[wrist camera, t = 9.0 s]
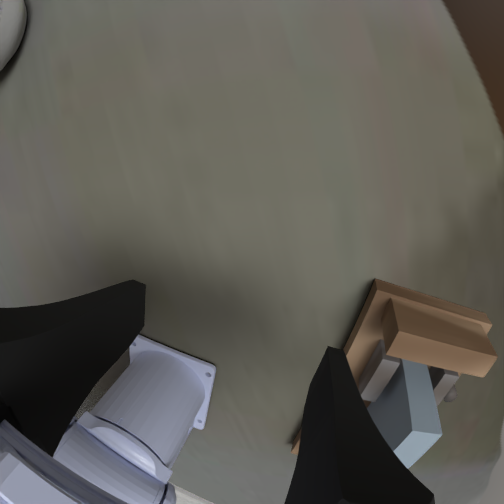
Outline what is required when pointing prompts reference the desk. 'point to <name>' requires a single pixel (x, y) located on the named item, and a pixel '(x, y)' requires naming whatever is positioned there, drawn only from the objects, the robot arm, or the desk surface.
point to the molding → (188, 497)
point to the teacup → (11, 28)
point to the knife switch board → (415, 341)
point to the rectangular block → (407, 412)
